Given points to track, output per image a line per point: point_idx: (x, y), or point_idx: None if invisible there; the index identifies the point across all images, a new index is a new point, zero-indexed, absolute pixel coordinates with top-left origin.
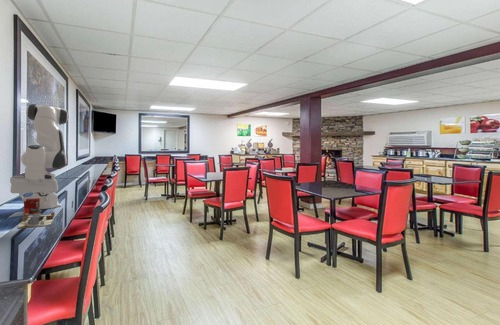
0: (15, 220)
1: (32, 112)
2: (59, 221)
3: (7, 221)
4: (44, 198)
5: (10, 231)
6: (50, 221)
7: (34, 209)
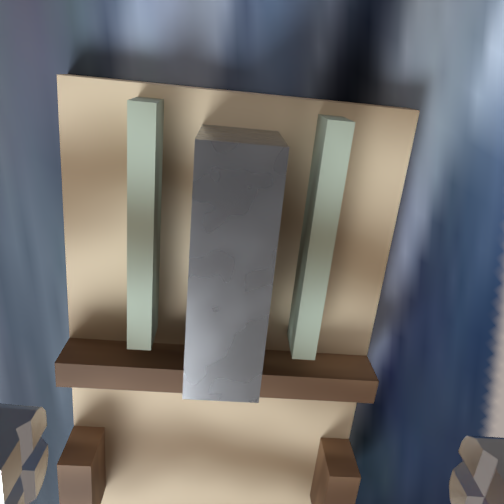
0: (403, 482)
1: None
2: (5, 278)
3: None
4: (1, 441)
5: (478, 26)
6: (81, 223)
7: None
